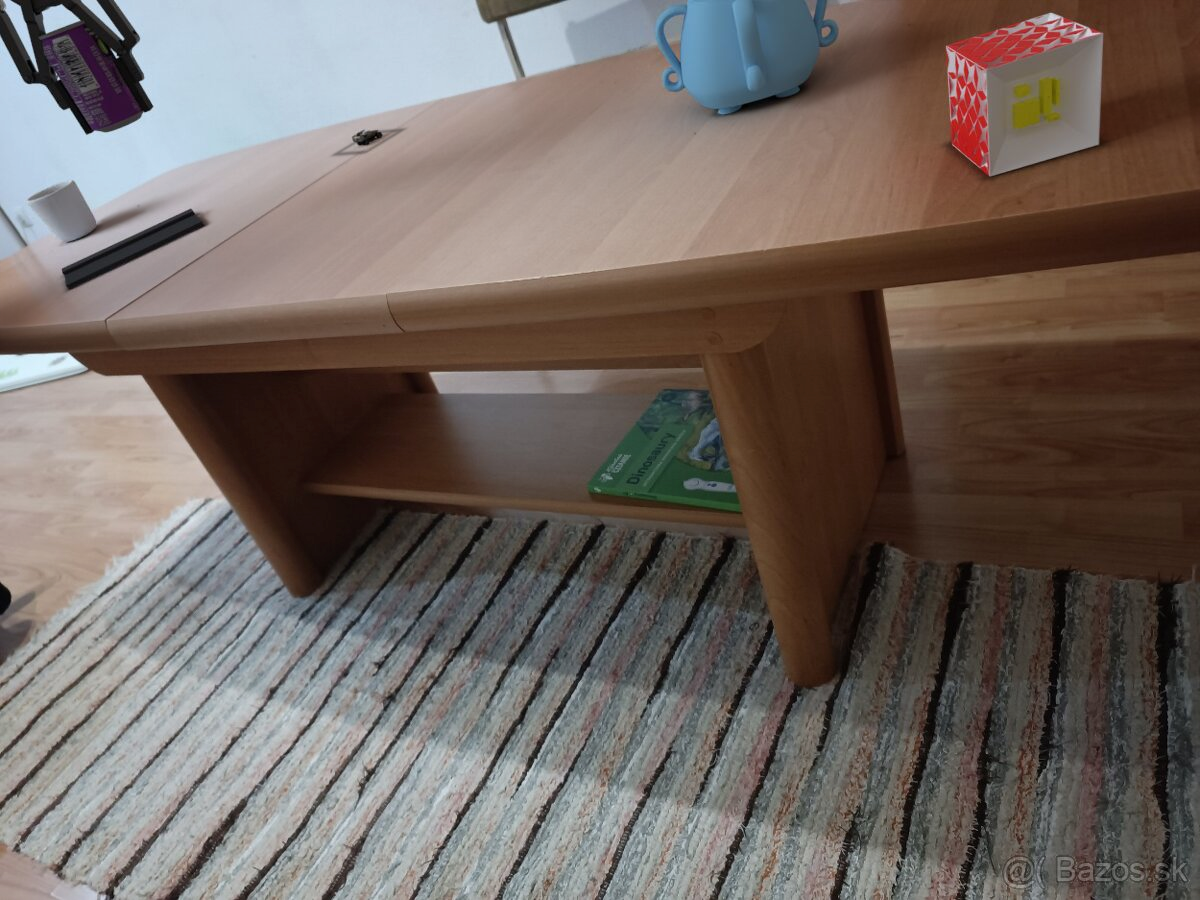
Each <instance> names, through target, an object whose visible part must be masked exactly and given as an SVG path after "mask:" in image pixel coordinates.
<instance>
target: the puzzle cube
mask: <svg viewBox="0 0 1200 900" xmlns="http://www.w3.org/2000/svg"><path fill="white" fill-rule="evenodd" d="M1103 53H1104V32H1102V31H1098V30H1096V29H1093V28H1091V27H1088V26H1086V25H1083V24H1081V23H1078V22H1076V21H1074V20H1071V19H1068V18H1066V17H1063V16H1062V15H1059V14H1056V13H1053V12H1048V13H1046V14H1042V15H1039V16H1035V17H1032V18H1030V19H1026V20H1023V21H1019V22H1016V23H1014V24H1011V25H1008V26H1005V27H1001V28H998V29H995V30H992V31H988V32H985V33H982V34H979V35H975V36H973V37H969V38H965V39H963V40H960V41H957V42H954V43H950V44H948V45H945V56H946V71H947V83H948V85H947V86H948V100H949V116H950V135H951V145H952V146H953V147H955V149H956V150H958V151H959V152H960V153H961V154H962V155H964V156H965V157H966V158H967V159H968V160H969V161H971V162H972V163H973V164H974V165H976V166H977V167H978V168H979V169H980V170H981V171H982V172H983V173H984V174H986V175H987V176H988V177H993V176H997V175H1000V174H1003V173H1007V172H1011V171H1015V170H1017V169H1021V168H1024V167H1027V166H1031V165H1035V164H1037V163H1042V162H1045V161H1048V160H1051V159H1054V158H1059V157H1062V156H1065V155H1068V154H1072V153H1076V152H1078V151H1082V150H1086V149H1089V148H1093V147H1096V146H1100V135H1101V111H1102V109H1101V108H1102V85H1103V58H1104V57H1103V56H1104V54H1103Z"/></svg>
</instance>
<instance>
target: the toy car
mask: <svg viewBox="0 0 1200 900" xmlns="http://www.w3.org/2000/svg"><path fill="white" fill-rule="evenodd" d="M382 137H383V132H381V131H379V129H375V130H374V129H373V130H371V129H367V130H366V129H365V128H364V129H361V130H360V131H358V132H357V133H356V134H354V135H352V136H351V139H352V142H353V143H356V145H357V146H359V147H360V146H361V147H362V146H369V145H370V144H371V143H372V142H373V141H375V140H378V139H380V138H382Z"/></svg>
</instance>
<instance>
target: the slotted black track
mask: <svg viewBox="0 0 1200 900" xmlns="http://www.w3.org/2000/svg"><path fill="white" fill-rule="evenodd" d="M203 227H205V224H204V222H203V221H202V220H201V219H200V218H199V217H198V215H197V214H196V212H195V211H194V210H193V209H192V208H188V209H187V210H184V211H182V212H180V213H177V214H175V215H173V216H172V217H169V218H166V219H165V220H162V221H161V222H158V223H157V224H154V225H152V226H150V227H147V228H145V229H143V230H141V231H139V232H137V233H135V234H133V235H131V236H129V237H126V238H124V239H122V240H120V241H118V242H115V243H114V244H111V245H109V246H107V247H105V248H102V249H100V250H98V251H96V252H94V253H92V254H90V255H88V256H85V257H84V258H81V259H79V260H77V261H75V262H73V263H71V264H67V265H66V266H64V267H62V268H61V273H62V275H64V282H65V287H66V288H67V290H69V291H70V290H72V289H74V288H77V287H78V286H81V285H82V284H85V283H87V282H89V281H91V280H93V279H95V278H97V277H99V276H102V275H103V274H105V273H108V272H109V271H112V270H114V269H116V268H118V267H120V266H123V265H124V264H126V263H129V262H130V261H133V260H135V259H137V258H139V257H141V256H143V255H145V254H148V253H150V252H152V251H155V250H156V249H158V248H160V247H163V246H165V245H167V244H169V243H171V242H173V241H175V240H177V239H179V238H182V237H184V236H186V235H188V234H190V233H192V232H195V231H196V230H198V229H200V228H203Z"/></svg>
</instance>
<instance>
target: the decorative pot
mask: <svg viewBox="0 0 1200 900" xmlns="http://www.w3.org/2000/svg"><path fill="white" fill-rule="evenodd" d="M815 4H816V5H815V10H814V15H812V12H811V11H810V8H809V7H808V4H807V3H806V1H805V0H687V2H686V4H684V3H682V4H681V3H678V4H673V5H671V6H669V7H667V8H666V9H665V10H664V11H663V12H662V13H661V14H660V15H659V16H658V18H657V20H656V22H655V25H654V37H655V38H654V39H655V41H656V43H657V46H658V48H659V50H660V51H661V53H662V54H663V56H664V58H665V59H666V61H667V62H668V63H669V65H670V66H669V67H667V68H665V70H664V71H663V73H662V75H661V83H662V85H663V87H664V89H665V90H667V91H668V92H672V93H678V92H681V91H683V90H684V89H685V90H686V91H687V93H689V94H690V95H691V97H692V98H694V100H696V102H698V103H699V104H700V105H702V106H703V107H705V108H707V109H714V110H718V111H717V114H718V115H728V114H732V113H734V112H737V111H739V110H740V109H741V108H742V105H745V104H749V103H752V102H755V101H760V100H763V99H766V98H770V97H773V96H775V97H776V98H786V97H789V96H792V95H795V94H797V93H798V92H799V91H800V90H801V89H800V87H799V86H800V85H802V84H803V83H805V82H806V81H807V80H808V79H809V77H810V76H811V73H812V72H813V69H814V67H815V64H816V62H817V60H818V57H819V54H820V48H822V49H823V48H827V47H829V46H831V45H832V44H834V43H835V42H836V41H837V39H838V37H839V27H838V24H837V22H836V20H833V19H831V18H827V19H825V15H826V11H827V10H826V9H827V4H828V0H816V3H815ZM682 15H684V16H683V22H682V27H681V34H680V35H681V36H680V44H679V58H678V57H677V55H676V54H675V52H674V51H673V49H672V48H671V46H670V44H669V43H668V41H667V37H666V35H665V30H664V28H665V25H666V23H667V22H668V21H669V20H670V19H672V18H674V17H675V16H682ZM824 28H829V30H830V31H829V33H828V34H827V35H825V36H823V29H824ZM673 74H676V77H677V81H676V82H673V81H672V80H670V75H673Z"/></svg>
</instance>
